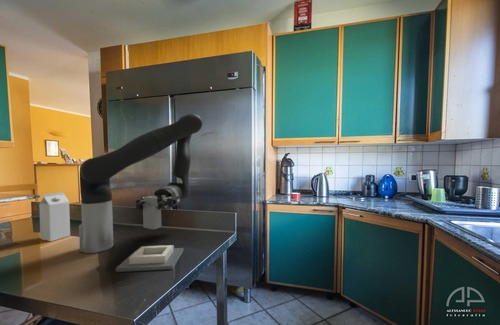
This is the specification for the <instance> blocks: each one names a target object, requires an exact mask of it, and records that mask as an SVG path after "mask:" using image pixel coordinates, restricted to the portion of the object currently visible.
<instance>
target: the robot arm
mask: <svg viewBox="0 0 500 325" xmlns="http://www.w3.org/2000/svg"><path fill="white" fill-rule="evenodd" d="M202 127H203V120H202V117H200V115H198V114H196V113H188V114H187V113H186V114H185V115H183V116H181V117H180V118H179V119H178V120H176V121H175V122H173V123H171V124H169V125H164V126H162V127H159V128H156V129H152V130H150V131H147V132H146V133H143V134H141V135H139V136H137V137H135V138H134V139H132V140H130V141H128V142H127V143H125V144H124V145H122V147H120V148H117V149H115V150H113V151H110V152H108V153H104V154H102V155H99V156H96V157H90V158H88V159H86V160H84V161H83V162H82V163H81V165H80V167H79V191H80V201H81V207H80V208H81V224H79V225H78V232H79V233H78V235H79V237H78V238H79V241H78V242H79V253H84V254H96V253H101V252H104V251H108V250H110V249H111V248H112V247H113V246H114V225H113V223H114V222H113V221H114V220H113V194H112V190H111V178H113V177H114V176H115V175H117V174H119V173H120V172H122V171H123V170H125V169H126V168H128V167H130V166H132V165H134V164H137V163H140V162H141V161H144V160H147V159H148V158H150V157H152V156H154V155H156V154H158V153H160V152H162V151H163V150H165V149H167V148H168V147H170V146H171V145H173V144H175V143H176V149H175V150H176V151H175V158H174V163H173V170H172V177H175V178H177V179H180V180H181V182H182V183H181V182H174V181H173V182H168V183H167V185H166V186H164V187H161V188H159V189H157V190H155V191H154V197H157V204H158V210H161V211H162V210H167V209H168V208H173V207H175V206H177V205H179V204H180V202H181V200H186V199H188V197H189V196H190V194H191V189H190V182H189V181H190V178H189V173H190V167H191V159H192V158H191V152H190V142H191V138H192V135H193V134H197V133H198V132H199V131H201V130H202ZM144 204H146V198H145V197H143V196H141V197H139V198H137V199H136V200H135V209H136V211H141V210H143V205H144Z"/></svg>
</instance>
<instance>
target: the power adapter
mask: <svg viewBox="0 0 500 325" xmlns="http://www.w3.org/2000/svg"><path fill="white" fill-rule="evenodd" d="M150 191H151V190H150V189H148V196H145V199H146V203H145V204H144V205H143V209H142V217H143V218H142V220H143V222H142V225H143V229H149V230H158V229H159V228H162V209H161V210H158V204H157V197H154V192H155V191H154V189H152V195H150V194H151V193H150Z"/></svg>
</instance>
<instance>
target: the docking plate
mask: <svg viewBox="0 0 500 325" xmlns="http://www.w3.org/2000/svg"><path fill="white" fill-rule="evenodd" d="M183 252H184V247H178V248H177V247H176V248H175V247H174V245H173V244H172V245H171V244H170V245H169V244H168V245H144V246H143V245H142V246H140V247H139V248H138V249H136V250H134V252H132V253H131V254H129V256H128V257H127V258H126V259H124V260H123V261H122V262H121V263H120V264H119V265H118V266H116V268H115V272H116V273H119V272H122V273H123V272H139V271H141V272H142V271H144V272H145V271H158V270H159V271H161V270H163V271H165V270H173V269H174V267H175V266H176V264H177V263H178V261H179V259H180V258H181V256H182V254H183Z"/></svg>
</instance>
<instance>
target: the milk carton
mask: <svg viewBox="0 0 500 325" xmlns="http://www.w3.org/2000/svg"><path fill="white" fill-rule="evenodd" d="M38 205H39V230H40V231H39V234H40V235H39V236H40V240H41V239H42V240H43V241H46V240H47V241H48V242H54V241H57V240H60V239H64V238H67V237H71V222H70V221H71V219H70V216H71V215H70V201H69V199H68V197H67V196H66V195H65V192H64V191H62V192H54V193H53V192H52V193H44V194H43V198H42V199H41V201H40V202H39V203H38ZM47 241H46V242H47Z"/></svg>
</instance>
